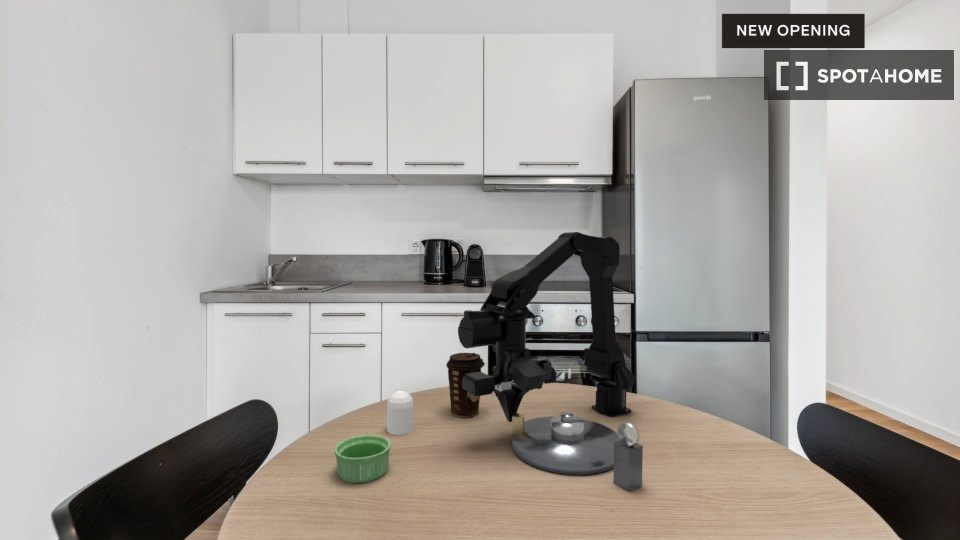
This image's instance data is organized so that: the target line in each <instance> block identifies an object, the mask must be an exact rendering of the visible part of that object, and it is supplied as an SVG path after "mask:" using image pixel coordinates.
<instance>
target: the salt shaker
mask: <svg viewBox="0 0 960 540" xmlns="http://www.w3.org/2000/svg"><path fill="white" fill-rule="evenodd" d="M386 403H387V405H386V408H387V409H386V410H387V412H386V414H387V417H386V418H387V419H386V421H387V426H386V427H387V429H386V430H387V433H388V432H389V433H390V434H389V433H388V434H389V435H392V434H393V435H392V436H406V435H409V434H411V433H413V432H414V430H415V428H414V427H415V423H414V422H415V417H414V416H415V415H414V413H415V412H414V410H415V409H414V399H413V396H412V395H411V394H410V393H409V392H407V391H406V390H405V391H404V390H398V391H395V392H393V393H392V394H391V395H390V396H389V397H388V400H387V402H386ZM410 432H411V433H410ZM408 433H409V434H408ZM405 434H406V435H405Z"/></svg>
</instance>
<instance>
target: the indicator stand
mask: <svg viewBox="0 0 960 540" xmlns="http://www.w3.org/2000/svg"><path fill="white" fill-rule="evenodd" d="M617 434H618V435H619V438H620V440H621V441H618V442H615V443H614V468H613V479H612V480H613V484H614V485H616V486H618V487H620V488H622V489H623V490H626V492H627V493H628V492H631V491H634V490H636V489H639V488H641V487H643V455H644V454H643V453H644V452H643V449H644V447H643V445H642V444H639V441H640V432H639V429H638V427H637V426H636V425H635V424H634V423H633V422H631V421H625V422H621V423H620V424H619V425H618V428H617Z"/></svg>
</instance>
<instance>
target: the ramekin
mask: <svg viewBox="0 0 960 540" xmlns="http://www.w3.org/2000/svg"><path fill="white" fill-rule="evenodd" d="M391 446H392V443H391V440H389V439H388V438H387V437H385V436H383V435H377V434H362V435H356V436H351V437H348V438H345V439H343V440H341V441H340V442H339V443H337V444H336V445H335V447H334V455H335V457H336V458H335V460H336V467H337V470H336V471H337V474H338V476H339V478H340V479H341V480H343V481H344V482H348V483H350V484H351V483H353V484H362V483H368V482H372V481H374V480H377V479H379V478H381V477H382V476H384V475H385V474H386V473H387V471H388V469H389V459H390V450H391Z"/></svg>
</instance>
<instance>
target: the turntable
mask: <svg viewBox="0 0 960 540" xmlns="http://www.w3.org/2000/svg"><path fill="white" fill-rule="evenodd" d="M552 417H554V416H551V415H550V416H542V417H541V416H540V417H536V418H532V419H531V418H530V419H528V420H525V413H519V412H517V413H514V414H513V416H512V422H511V433H512V434H511V435H512V440H511V441H512V443H511V445H512V447H511V448H512V451H514V454H515V455H516V456H517V457H518V458H519V459H521V460H522V461H523V462H525V463H527V464H529V465H530V466H532V467H535V468H537V469H541V470H544V471H547V472H552V473H556V474H563V475H592V474H593V475H594V474H599V473H603V472H606V471H609V470H611V469H614V443H615V442H618V441H621V440H620V438H619V435H618V432H616V431H615V430H613V429H611V428H610V427H609V426H606V425H604V424H602V423H599V422H595V421H593V420H589V419H584V418H581V419H582V420H583V421H584V440H583V441H582V442H580V443H576V444H565V443H560V442H557V441H555V440H553V439H552V438H551V418H552Z"/></svg>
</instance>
